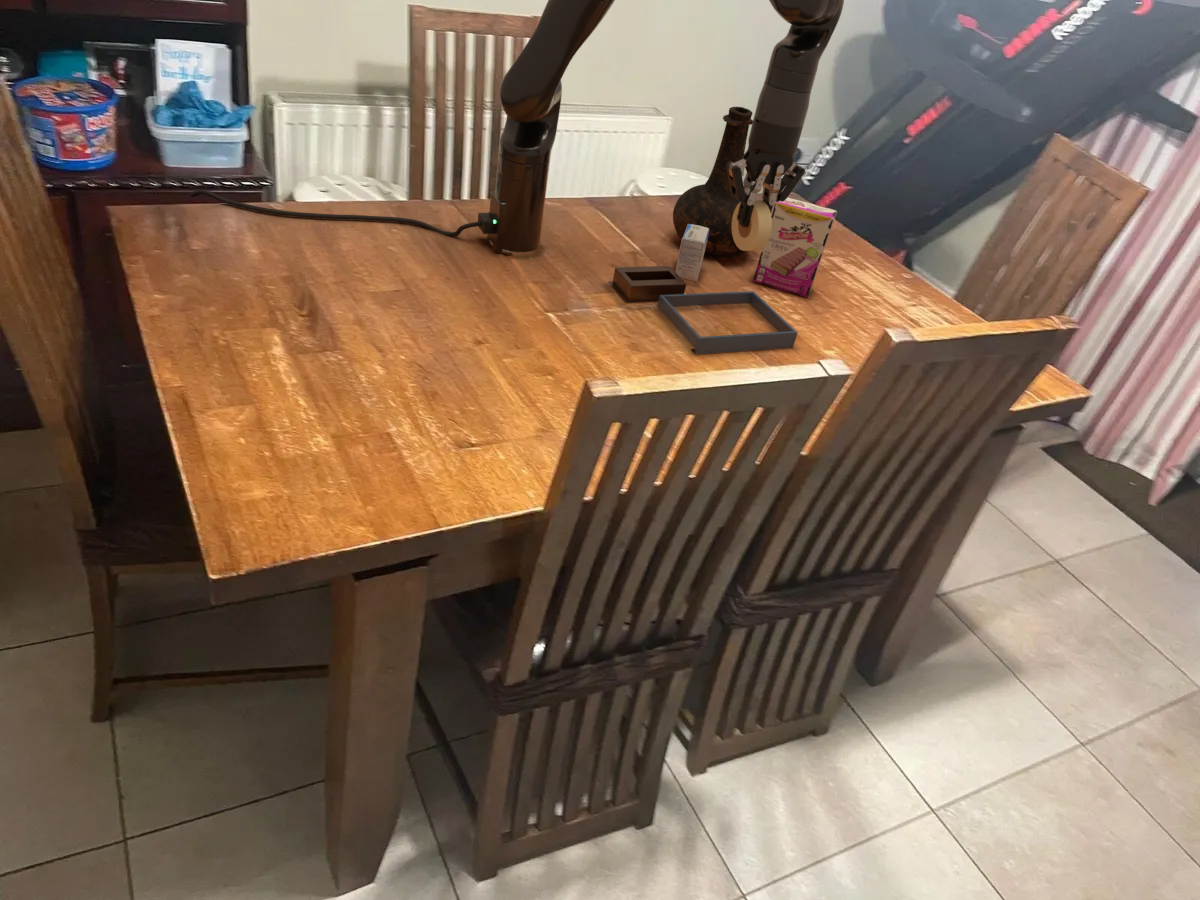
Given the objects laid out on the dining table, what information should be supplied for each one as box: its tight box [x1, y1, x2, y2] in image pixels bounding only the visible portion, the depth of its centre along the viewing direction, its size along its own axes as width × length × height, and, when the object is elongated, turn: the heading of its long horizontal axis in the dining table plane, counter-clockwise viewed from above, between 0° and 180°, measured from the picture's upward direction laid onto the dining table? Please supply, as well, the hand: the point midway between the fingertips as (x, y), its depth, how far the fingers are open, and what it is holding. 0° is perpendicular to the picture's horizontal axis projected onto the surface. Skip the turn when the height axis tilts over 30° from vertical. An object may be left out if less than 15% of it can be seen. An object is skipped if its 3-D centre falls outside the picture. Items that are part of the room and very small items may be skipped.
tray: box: [657, 290, 799, 356], centre depth 158 cm, size 19×15×3 cm
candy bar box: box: [752, 196, 838, 298], centre depth 173 cm, size 11×5×16 cm, turn 71°
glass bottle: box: [672, 106, 757, 259], centre depth 179 cm, size 18×18×28 cm
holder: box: [607, 265, 687, 304], centre depth 164 cm, size 8×12×4 cm
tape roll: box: [732, 199, 772, 252], centre depth 148 cm, size 2×8×8 cm, turn 23°
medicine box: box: [674, 224, 710, 282], centre depth 173 cm, size 8×4×9 cm, turn 168°
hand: (751, 224), depth 148 cm, fingers closed on tape roll, 2 cm apart
